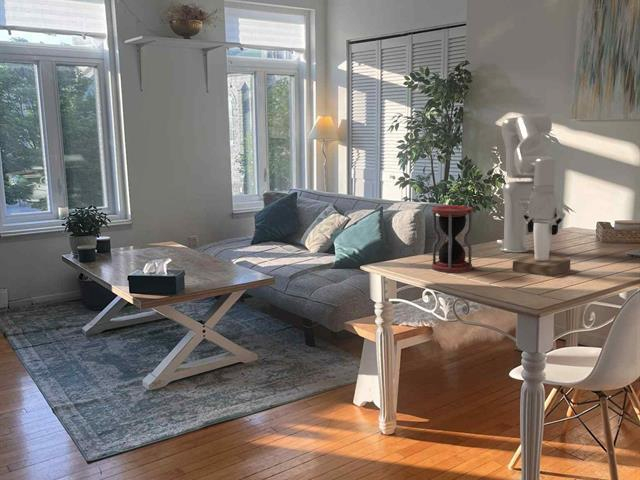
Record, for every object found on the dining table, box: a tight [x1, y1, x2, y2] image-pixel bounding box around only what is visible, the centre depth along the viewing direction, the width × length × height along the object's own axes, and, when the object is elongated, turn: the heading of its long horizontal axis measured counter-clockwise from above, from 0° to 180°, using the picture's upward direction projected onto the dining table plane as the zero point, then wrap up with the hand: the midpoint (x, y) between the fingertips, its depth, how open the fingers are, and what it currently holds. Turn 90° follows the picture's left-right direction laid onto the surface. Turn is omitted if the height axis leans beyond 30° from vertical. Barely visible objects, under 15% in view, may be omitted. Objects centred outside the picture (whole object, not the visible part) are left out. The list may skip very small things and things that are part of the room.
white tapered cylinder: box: [532, 220, 553, 261], centre depth 246 cm, size 7×7×15 cm
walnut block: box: [512, 254, 571, 277], centre depth 248 cm, size 16×16×4 cm
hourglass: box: [431, 204, 474, 273], centre depth 253 cm, size 16×16×25 cm
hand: (542, 233), depth 246 cm, fingers open, 9 cm apart
